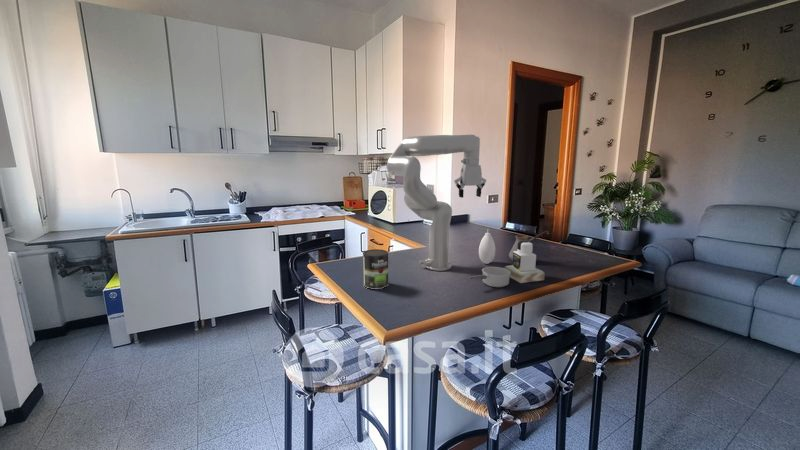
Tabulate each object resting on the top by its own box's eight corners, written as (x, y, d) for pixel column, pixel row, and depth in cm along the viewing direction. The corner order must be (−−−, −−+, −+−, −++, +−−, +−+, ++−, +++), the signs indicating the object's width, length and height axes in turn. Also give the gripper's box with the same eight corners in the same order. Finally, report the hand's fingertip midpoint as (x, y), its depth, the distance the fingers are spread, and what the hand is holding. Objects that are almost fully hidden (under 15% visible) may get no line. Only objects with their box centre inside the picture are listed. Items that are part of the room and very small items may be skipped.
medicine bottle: (512, 266, 149) (513, 240, 146) (527, 265, 149) (529, 239, 147) (519, 271, 142) (521, 244, 139) (535, 270, 142) (537, 243, 140)
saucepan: (460, 285, 136) (460, 272, 135) (495, 277, 146) (495, 265, 145) (479, 295, 127) (480, 281, 126) (516, 285, 137) (516, 272, 136)
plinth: (520, 283, 139) (521, 274, 138) (503, 273, 150) (504, 265, 149) (544, 280, 142) (545, 271, 142) (526, 271, 154) (526, 263, 153)
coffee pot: (517, 265, 162) (519, 235, 159) (503, 259, 173) (505, 230, 170) (553, 261, 168) (556, 232, 165) (538, 255, 178) (540, 228, 176)
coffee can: (392, 287, 135) (392, 253, 132) (369, 292, 130) (368, 257, 127) (382, 279, 144) (381, 247, 141) (359, 283, 139) (359, 251, 136)
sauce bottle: (475, 264, 164) (477, 228, 161) (481, 260, 171) (483, 225, 167) (491, 266, 160) (493, 230, 157) (496, 262, 166) (498, 227, 163)
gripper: (458, 162, 158) (457, 198, 161) (490, 162, 163) (489, 197, 166) (451, 162, 165) (450, 196, 168) (482, 162, 170) (481, 195, 173)
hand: (469, 196), depth 167 cm, fingers open, 9 cm apart
